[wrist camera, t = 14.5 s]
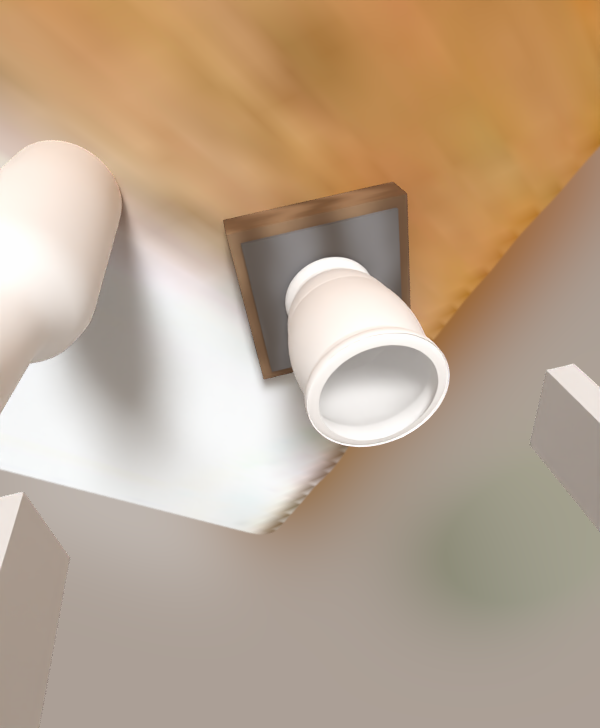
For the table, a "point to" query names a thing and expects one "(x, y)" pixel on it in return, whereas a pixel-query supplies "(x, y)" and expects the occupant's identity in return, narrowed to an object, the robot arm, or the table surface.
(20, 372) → the alcohol
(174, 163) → the table surface
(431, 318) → the table surface
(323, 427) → the jar
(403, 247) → the plinth
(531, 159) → the table surface
